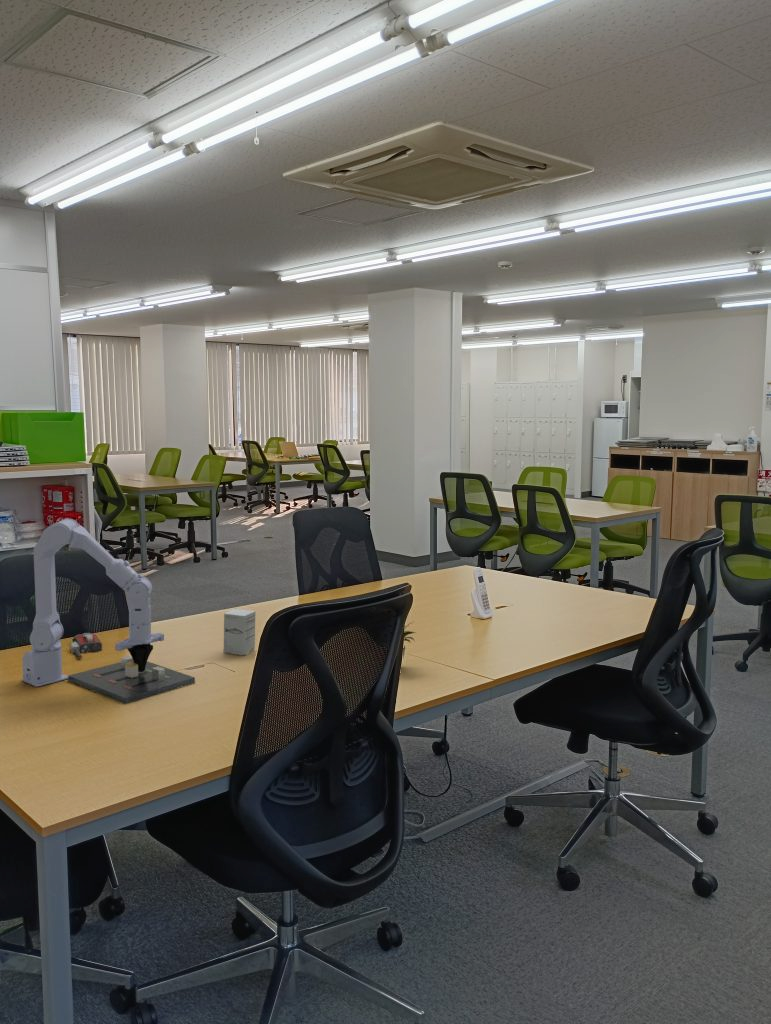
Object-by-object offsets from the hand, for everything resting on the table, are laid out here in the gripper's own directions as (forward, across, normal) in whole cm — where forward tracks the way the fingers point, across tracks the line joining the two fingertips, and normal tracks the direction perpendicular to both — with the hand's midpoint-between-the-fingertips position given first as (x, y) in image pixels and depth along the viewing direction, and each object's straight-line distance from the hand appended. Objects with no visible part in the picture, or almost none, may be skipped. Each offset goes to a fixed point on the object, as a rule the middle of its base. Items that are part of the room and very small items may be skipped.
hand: (140, 670), depth 228 cm
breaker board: (+2, -3, 0) cm, 4 cm away
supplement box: (+3, +36, 0) cm, 36 cm away
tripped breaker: (+1, -3, 0) cm, 3 cm away
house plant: (+2, +55, -44) cm, 71 cm away
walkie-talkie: (+3, +6, +35) cm, 35 cm away
